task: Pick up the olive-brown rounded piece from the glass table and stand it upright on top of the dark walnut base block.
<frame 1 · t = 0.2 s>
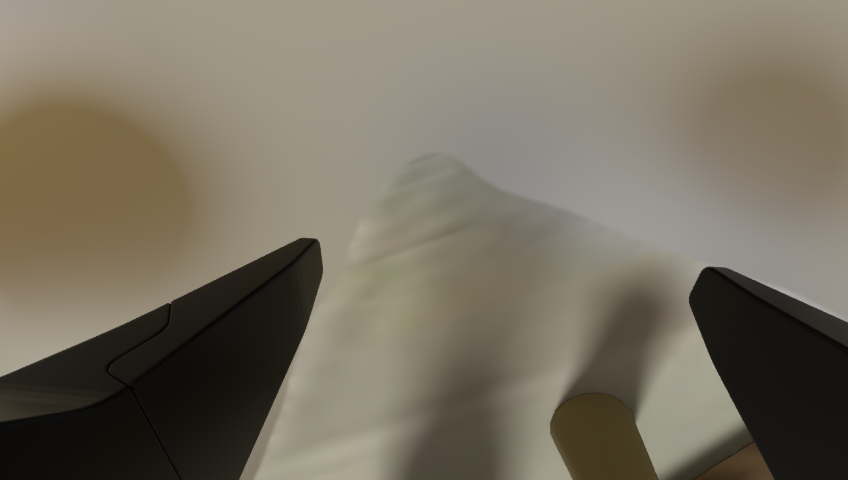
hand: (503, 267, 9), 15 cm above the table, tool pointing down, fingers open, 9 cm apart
olive-brown rounded piece: (590, 425, 29), on the table
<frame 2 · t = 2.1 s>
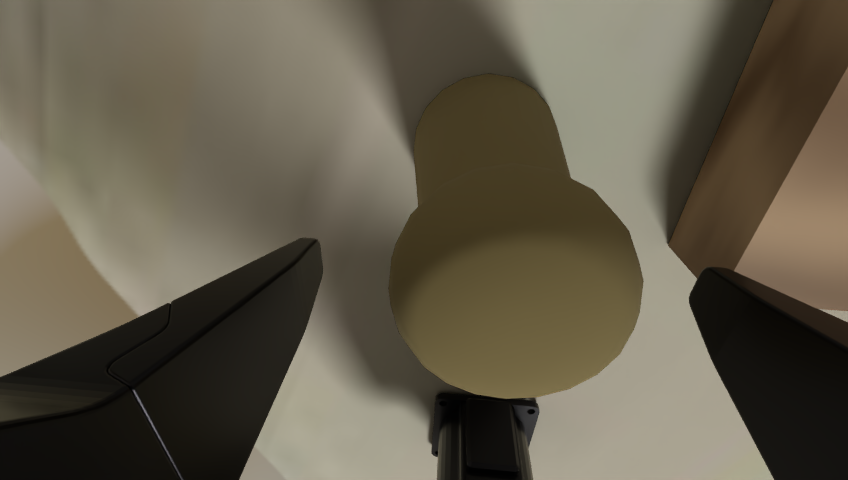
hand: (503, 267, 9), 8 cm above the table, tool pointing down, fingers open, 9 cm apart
olive-brown rounded piece: (484, 148, 17), on the table
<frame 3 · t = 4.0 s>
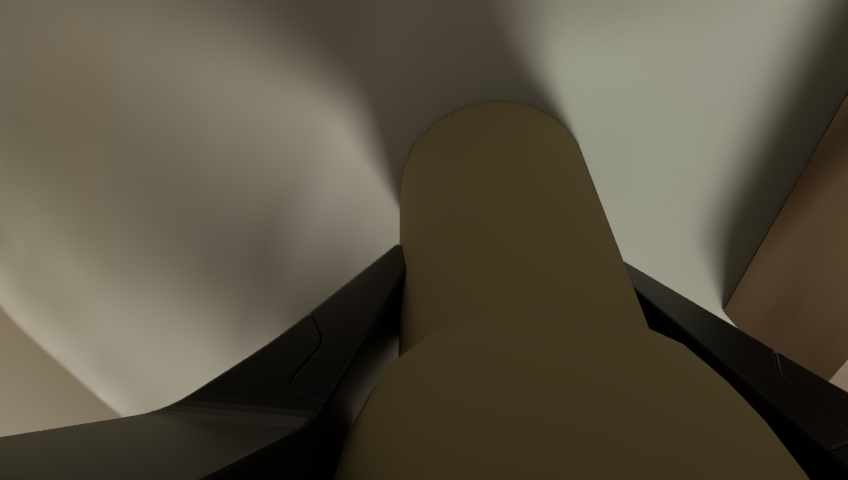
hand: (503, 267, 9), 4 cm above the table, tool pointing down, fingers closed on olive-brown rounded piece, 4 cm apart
olive-brown rounded piece: (491, 194, 13), on the table, touching gripper
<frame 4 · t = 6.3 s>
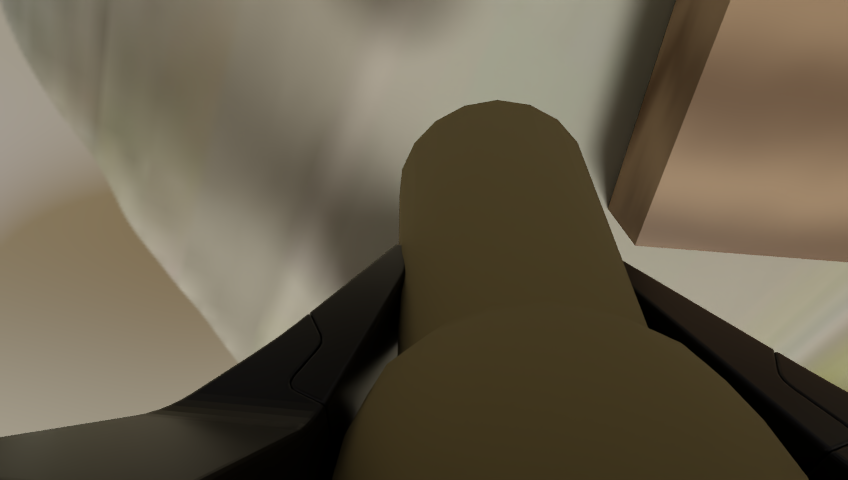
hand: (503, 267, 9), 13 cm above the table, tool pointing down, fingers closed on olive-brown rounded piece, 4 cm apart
walnut base: (802, 86, 18), on the table
olive-brown rounded piece: (490, 193, 13), point 9 cm above the table, touching gripper
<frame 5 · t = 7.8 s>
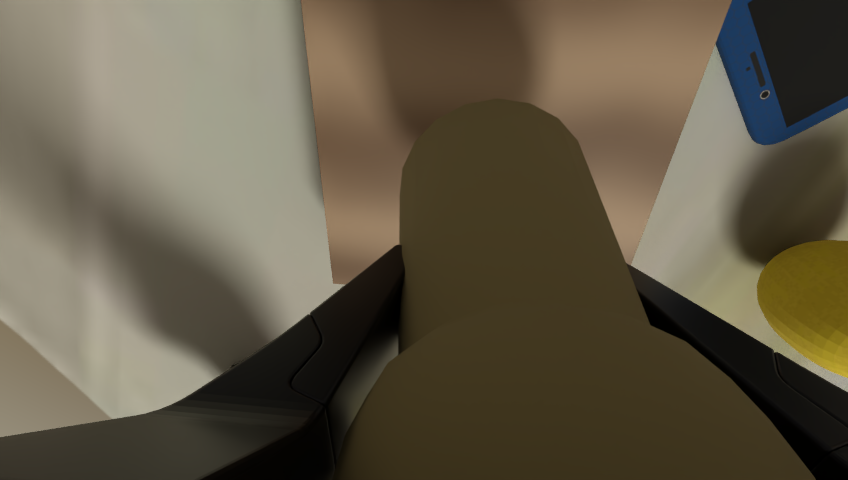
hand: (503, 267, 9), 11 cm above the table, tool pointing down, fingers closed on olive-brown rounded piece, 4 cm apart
lemon: (779, 255, 21), on the table
walnut base: (483, 131, 19), on the table
olive-brown rounded piece: (491, 192, 13), point 7 cm above the table, touching gripper
when the fingers open (9 cm above the table, at t = 8.9 s): olive-brown rounded piece drops 1 cm, resting on walnut base.
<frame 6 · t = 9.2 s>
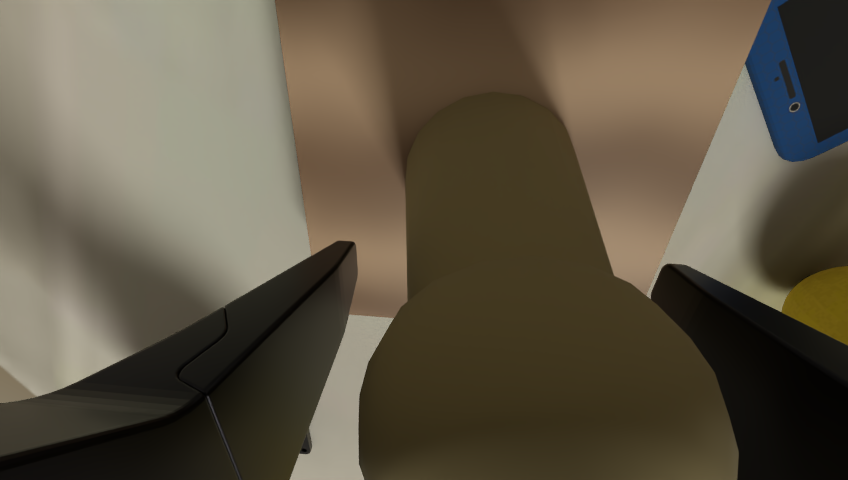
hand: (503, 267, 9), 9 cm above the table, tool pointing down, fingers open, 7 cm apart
lemon: (803, 278, 20), on the table
walnut base: (483, 145, 17), on the table
olive-brown rounded piece: (488, 178, 14), point 4 cm above the table, touching walnut base
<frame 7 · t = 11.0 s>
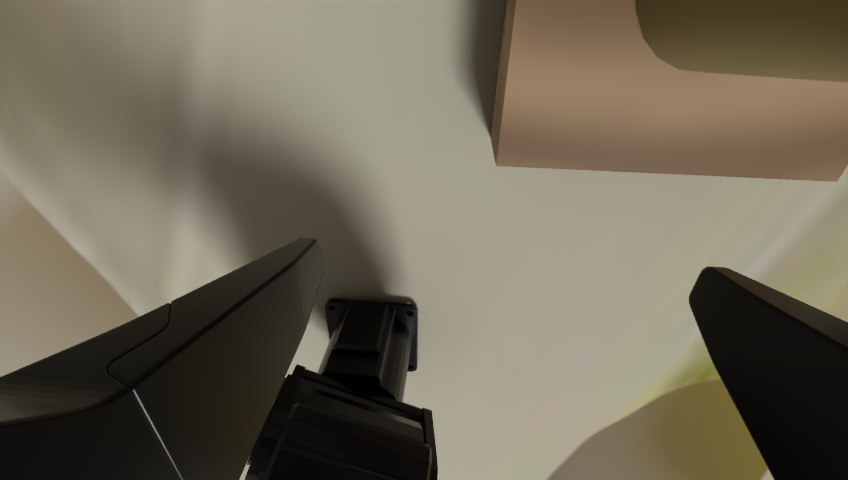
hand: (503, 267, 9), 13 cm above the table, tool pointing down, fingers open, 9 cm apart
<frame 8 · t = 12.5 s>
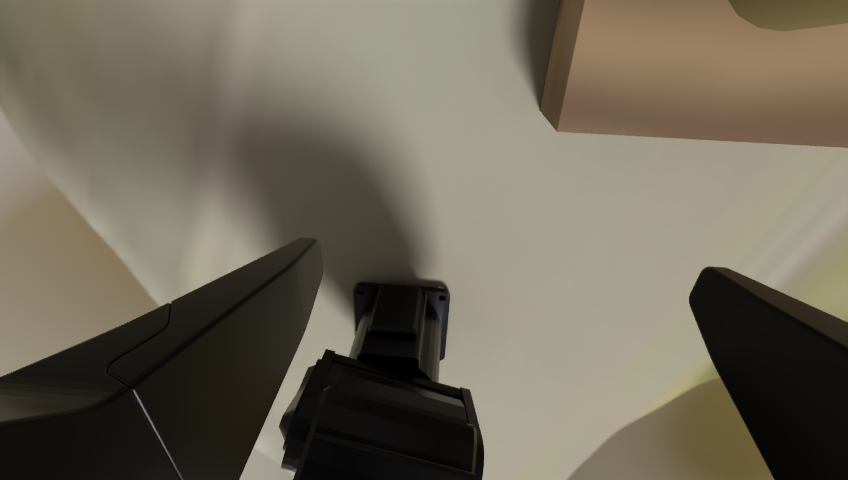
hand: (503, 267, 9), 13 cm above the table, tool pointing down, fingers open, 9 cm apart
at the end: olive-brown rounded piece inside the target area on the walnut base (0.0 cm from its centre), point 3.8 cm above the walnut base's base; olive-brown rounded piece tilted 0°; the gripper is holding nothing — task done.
